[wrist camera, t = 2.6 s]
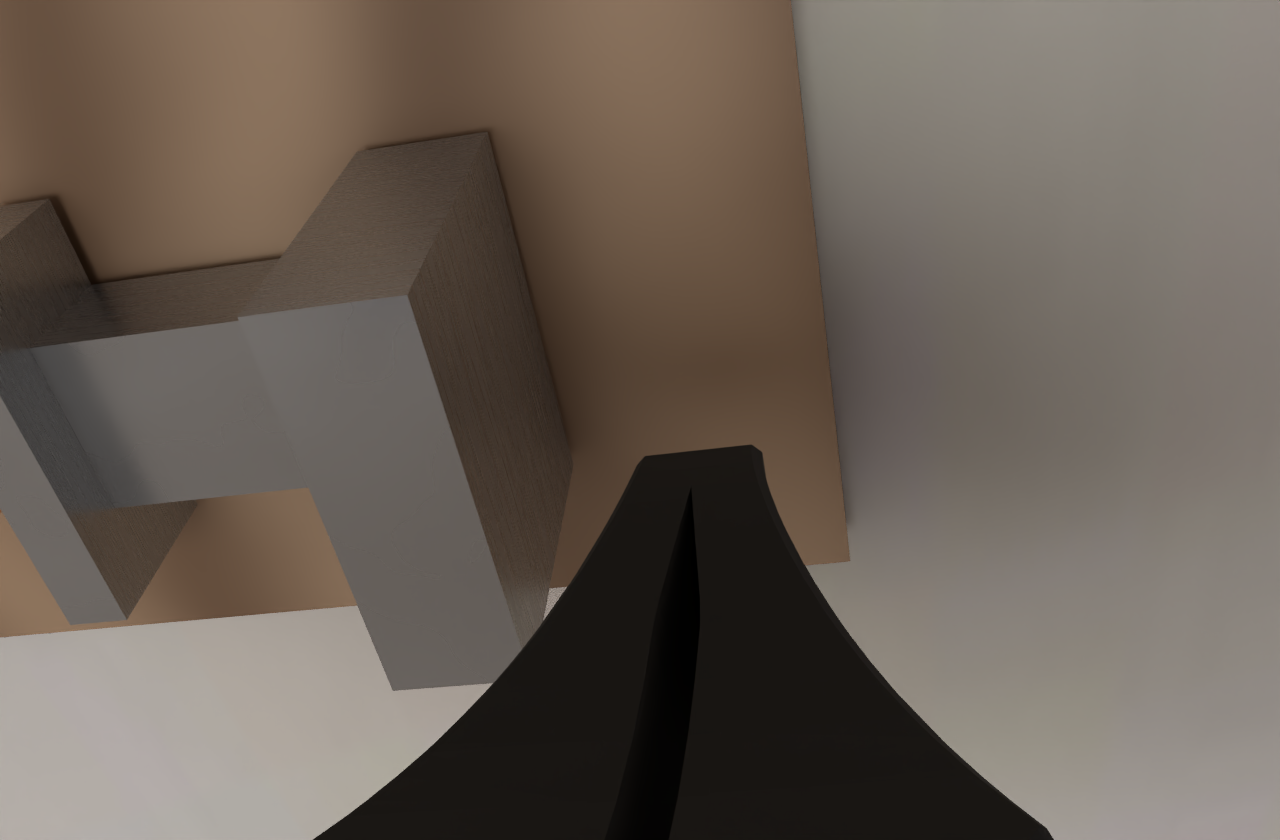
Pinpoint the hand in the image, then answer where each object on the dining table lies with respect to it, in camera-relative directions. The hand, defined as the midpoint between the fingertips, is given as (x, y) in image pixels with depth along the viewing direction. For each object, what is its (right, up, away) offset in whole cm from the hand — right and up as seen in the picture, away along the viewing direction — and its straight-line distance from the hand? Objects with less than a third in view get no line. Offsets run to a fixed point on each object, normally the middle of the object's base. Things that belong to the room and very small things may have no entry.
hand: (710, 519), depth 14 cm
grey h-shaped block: (-6, +2, +6) cm, 9 cm away
